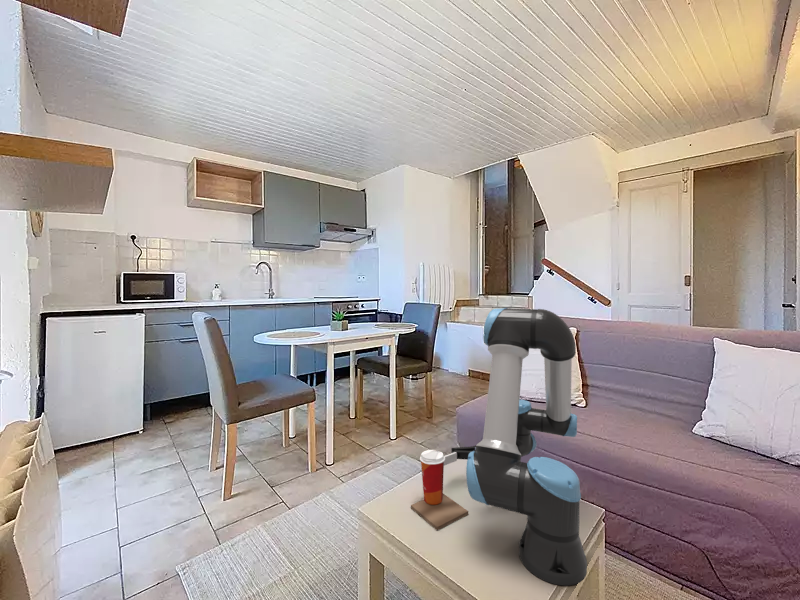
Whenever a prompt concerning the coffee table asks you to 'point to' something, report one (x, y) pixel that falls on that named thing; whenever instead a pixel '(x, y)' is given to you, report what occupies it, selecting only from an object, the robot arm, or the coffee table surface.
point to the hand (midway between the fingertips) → (456, 470)
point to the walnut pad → (440, 512)
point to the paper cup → (432, 476)
